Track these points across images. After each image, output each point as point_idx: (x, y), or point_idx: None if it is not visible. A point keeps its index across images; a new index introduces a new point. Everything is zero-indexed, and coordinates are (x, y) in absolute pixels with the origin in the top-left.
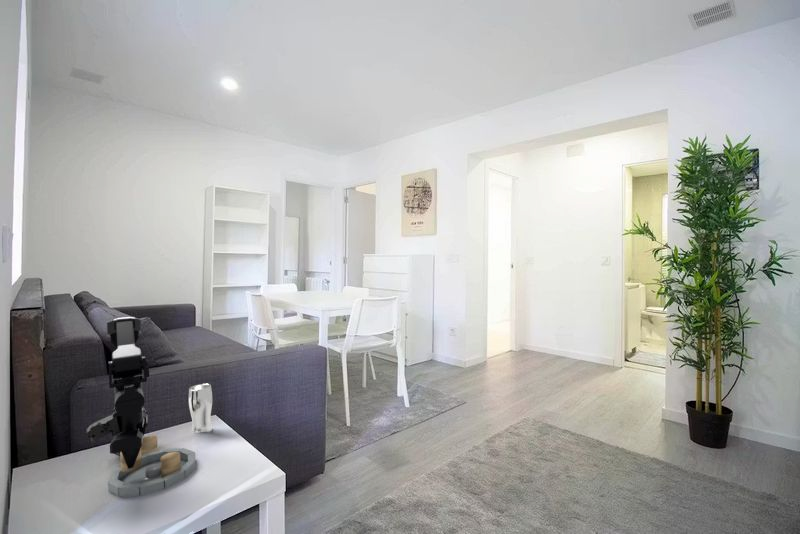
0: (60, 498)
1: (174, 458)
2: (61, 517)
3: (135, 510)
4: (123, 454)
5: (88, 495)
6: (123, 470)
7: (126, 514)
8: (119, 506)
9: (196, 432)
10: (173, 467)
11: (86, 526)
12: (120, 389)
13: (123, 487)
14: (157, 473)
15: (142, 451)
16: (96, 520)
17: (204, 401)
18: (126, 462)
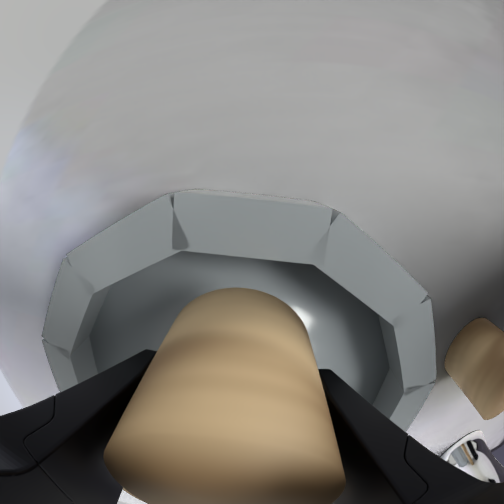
0: (318, 3)
1: (124, 490)
2: (119, 35)
3: (26, 291)
4: (11, 419)
5: (259, 94)
6: (183, 310)
7: (16, 265)
8: (60, 243)
9: (456, 451)
10: None
11: (13, 149)
12: None
13: (60, 281)
14: None
15: (482, 349)
16: (23, 173)
17: None
18: (101, 377)
